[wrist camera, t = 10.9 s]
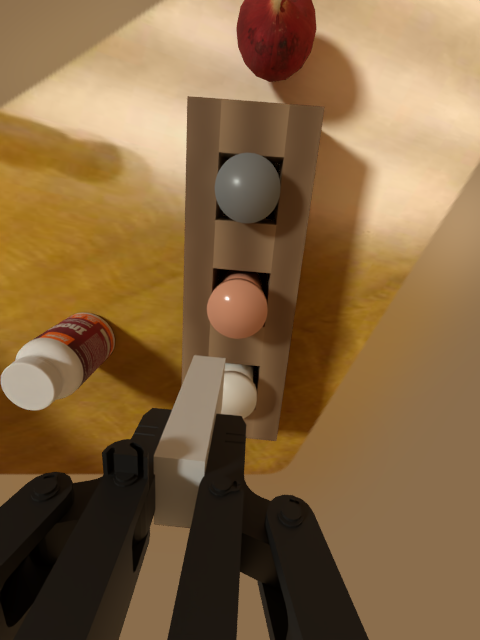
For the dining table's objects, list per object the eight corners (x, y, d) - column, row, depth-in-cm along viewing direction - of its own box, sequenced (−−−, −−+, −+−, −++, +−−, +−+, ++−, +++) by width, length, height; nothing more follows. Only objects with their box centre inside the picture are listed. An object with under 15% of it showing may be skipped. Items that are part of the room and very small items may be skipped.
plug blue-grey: (223, 214, 33) (213, 220, 25) (227, 161, 31) (216, 149, 24) (272, 219, 33) (276, 226, 25) (278, 165, 31) (284, 155, 24)
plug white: (214, 375, 39) (203, 418, 32) (216, 338, 37) (205, 373, 30) (255, 379, 39) (254, 423, 32) (259, 342, 37) (259, 378, 30)
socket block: (191, 398, 41) (180, 431, 35) (201, 114, 30) (187, 96, 25) (274, 406, 40) (276, 441, 35) (312, 123, 30) (324, 106, 24)
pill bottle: (105, 305, 37) (45, 348, 27) (124, 355, 39) (75, 412, 29) (54, 316, 38) (-22, 361, 28) (75, 364, 40) (11, 423, 30)
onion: (310, 87, 29) (327, 49, 21) (244, 97, 30) (238, 64, 22) (306, 2, 27) (324, -72, 20) (235, 15, 28) (226, -52, 20)
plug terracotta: (217, 305, 35) (205, 335, 27) (219, 259, 33) (208, 278, 26) (263, 310, 35) (264, 341, 27) (268, 264, 33) (270, 284, 26)
